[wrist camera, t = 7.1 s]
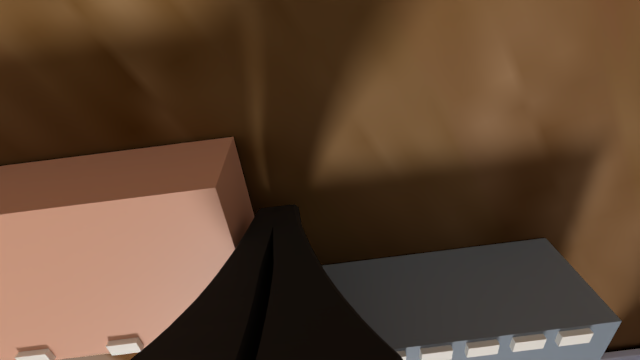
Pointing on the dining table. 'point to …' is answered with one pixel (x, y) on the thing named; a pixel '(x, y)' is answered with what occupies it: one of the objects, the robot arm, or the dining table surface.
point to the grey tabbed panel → (479, 304)
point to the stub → (113, 245)
